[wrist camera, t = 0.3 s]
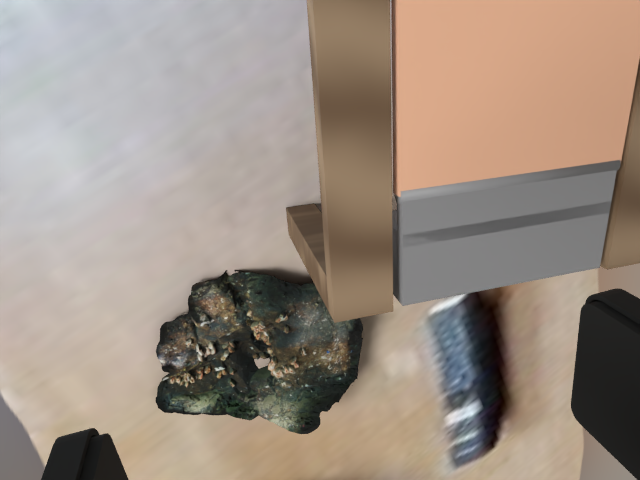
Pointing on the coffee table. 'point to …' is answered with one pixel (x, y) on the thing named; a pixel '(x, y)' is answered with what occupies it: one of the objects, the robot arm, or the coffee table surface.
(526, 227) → the trapdoor
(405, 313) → the coffee table surface
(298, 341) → the decorative rock
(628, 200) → the miniature wooden side table
